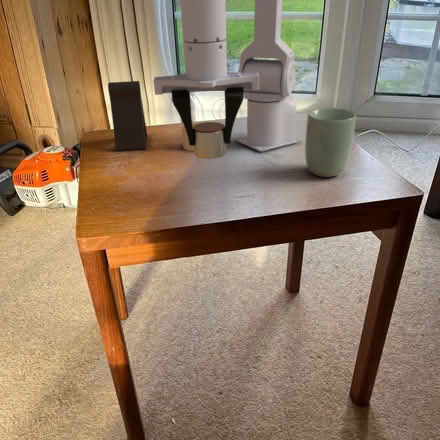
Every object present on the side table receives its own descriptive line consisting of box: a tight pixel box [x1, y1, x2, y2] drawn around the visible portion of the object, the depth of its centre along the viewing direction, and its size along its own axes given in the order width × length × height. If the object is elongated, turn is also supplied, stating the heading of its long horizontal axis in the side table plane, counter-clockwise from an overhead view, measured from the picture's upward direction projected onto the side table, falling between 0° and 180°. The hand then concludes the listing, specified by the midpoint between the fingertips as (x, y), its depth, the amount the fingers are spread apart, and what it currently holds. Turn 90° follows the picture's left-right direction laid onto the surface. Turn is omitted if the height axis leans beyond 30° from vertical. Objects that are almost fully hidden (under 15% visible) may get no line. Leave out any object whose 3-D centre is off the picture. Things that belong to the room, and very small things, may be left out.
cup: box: [304, 107, 357, 178], centre depth 76 cm, size 8×8×10 cm
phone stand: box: [107, 80, 148, 152], centre depth 92 cm, size 9×6×12 cm, turn 5°
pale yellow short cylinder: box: [181, 123, 197, 152], centre depth 91 cm, size 5×5×4 cm
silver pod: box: [193, 121, 227, 160], centre depth 68 cm, size 5×5×4 cm
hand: (209, 142), depth 68 cm, fingers closed on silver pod, 5 cm apart
